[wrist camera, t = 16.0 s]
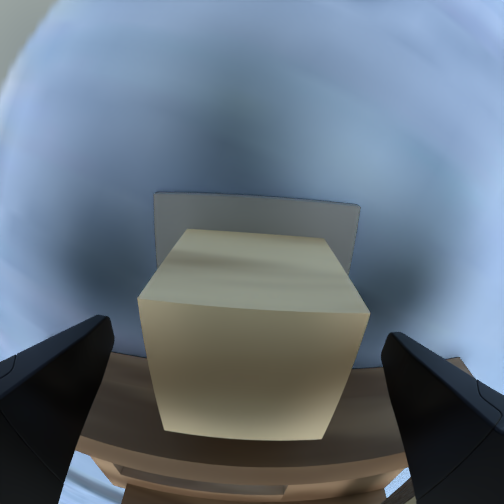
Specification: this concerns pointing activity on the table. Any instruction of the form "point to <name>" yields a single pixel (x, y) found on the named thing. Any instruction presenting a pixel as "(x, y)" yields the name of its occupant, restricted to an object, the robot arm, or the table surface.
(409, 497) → the latch bar
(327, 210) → the slate mat
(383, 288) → the table surface
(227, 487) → the puzzle board
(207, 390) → the beech block
